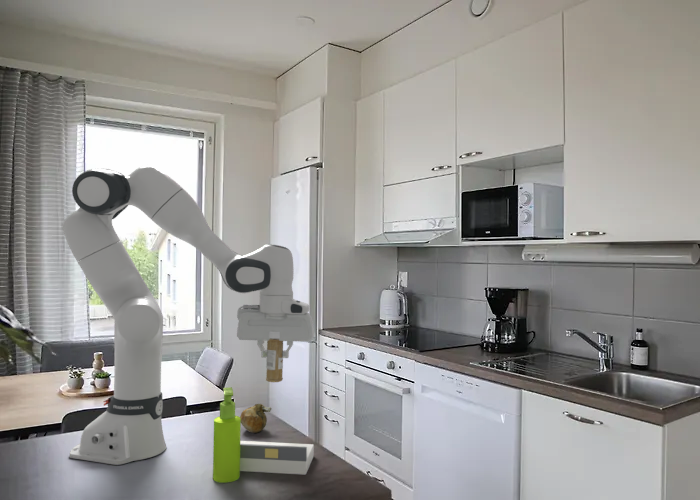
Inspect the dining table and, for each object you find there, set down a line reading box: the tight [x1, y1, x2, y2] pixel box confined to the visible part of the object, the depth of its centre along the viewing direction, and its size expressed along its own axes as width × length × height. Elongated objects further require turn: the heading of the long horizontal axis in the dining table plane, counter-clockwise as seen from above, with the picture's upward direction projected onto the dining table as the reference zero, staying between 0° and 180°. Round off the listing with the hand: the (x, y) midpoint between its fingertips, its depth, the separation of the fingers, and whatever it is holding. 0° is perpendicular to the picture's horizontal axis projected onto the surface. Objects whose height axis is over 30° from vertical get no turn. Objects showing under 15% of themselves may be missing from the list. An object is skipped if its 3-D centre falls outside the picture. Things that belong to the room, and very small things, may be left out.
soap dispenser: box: [212, 387, 242, 484], centre depth 118 cm, size 6×7×20 cm
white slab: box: [240, 440, 315, 475], centre depth 127 cm, size 20×11×6 cm, turn 84°
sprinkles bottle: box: [265, 331, 284, 383], centre depth 140 cm, size 5×5×13 cm
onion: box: [239, 403, 272, 434], centre depth 150 cm, size 8×8×8 cm
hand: (275, 357), depth 140 cm, fingers closed on sprinkles bottle, 4 cm apart
